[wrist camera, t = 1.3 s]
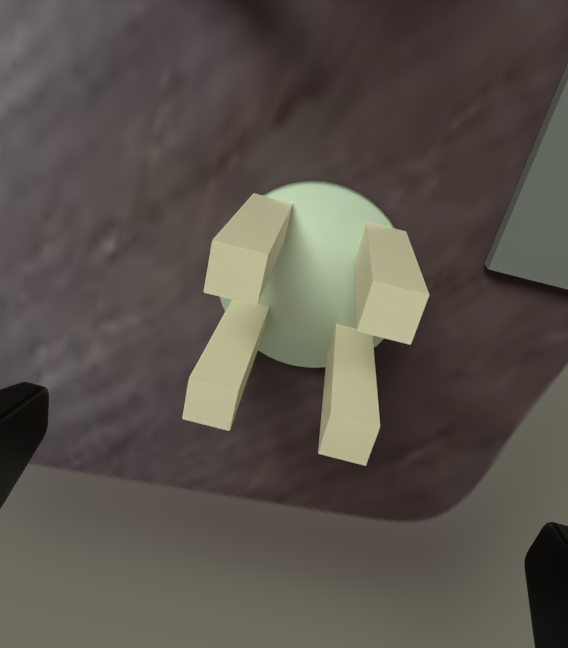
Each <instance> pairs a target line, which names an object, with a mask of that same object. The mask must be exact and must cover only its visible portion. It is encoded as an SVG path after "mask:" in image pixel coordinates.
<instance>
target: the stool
mask: <svg viewBox="0 0 568 648" xmlns="http://www.w3.org/2000/svg"><path fill="white" fill-rule="evenodd" d="M204 293H208V294H212V295H216V296H219V297H220V299H221V302H222V306H223V308H224V310H225V313H224V315H223V317H222V319H221V321H220V323H219V324H218V326H217V328H216V330H215V332H214V333H213V335H212V337H211V339H210V341H209V343H208V344H207V346H206V348H205V350H204V352H203V354H202V355H201V357H200V359H199V361H198V363H197V364H196V366H195V368H194V370H193V372H192V374H191V375H190V377H189V381H188V387H187V393H186V399H185V405H184V411H183V417H182V419H185V420H189V421H192V422H196V423H200V424H204V425H208V426H212V427H216V428H220V429H224V430H228V431H230V429H231V426H232V423H233V420H234V417H235V414H236V411H237V408H238V406H239V403H240V400H241V397H242V394H243V391H244V388H245V385H246V383H247V380H248V377H249V374H250V371H251V368H252V365H253V363H254V360H255V357H256V354H257V351H260V352H262V353H263V354H265V355H267V356H268V357H271V358H273V359H275V360H277V361H280V362H283V363H286V364H289V365H295V366H300V367H311V368H317V367H326V369H325V381H324V392H323V403H322V414H321V426H320V437H319V448H318V454H321V455H325V456H329V457H333V458H337V459H341V460H345V461H349V462H353V463H357V464H361V465H364V466H366V464H367V461H368V458H369V456H370V453H371V450H372V448H373V445H374V442H375V440H376V437H377V434H378V432H379V429H380V418H379V406H378V394H377V382H376V371H375V359H374V347H376V346H377V345H378V344H379V343H380V342H381V341H382V340H383V339H384V338H385V339H389V340H393V341H397V342H401V343H405V344H409V345H411V343H412V340H413V337H414V335H415V332H416V329H417V327H418V324H419V321H420V319H421V316H422V313H423V311H424V308H425V305H426V303H427V300H428V297H429V293H428V290H427V287H426V284H425V282H424V279H423V276H422V274H421V271H420V268H419V265H418V263H417V260H416V257H415V255H414V252H413V249H412V246H411V244H410V241H409V238H408V236H407V233H406V231H402V230H398V229H395V227H394V225H393V224H392V222H391V221H390V219H389V218H388V216H387V215H386V214H385V213H384V212H383V211H382V210H381V208H380V207H378V206H377V205H376V204H375V203H374V202H373V201H372V200H370V199H369V198H367V197H366V196H364V195H363V194H361V193H359V192H357V191H355V190H353V189H351V188H349V187H346V186H343V185H340V184H337V183H331V182H325V181H302V182H295V183H291V184H287V185H284V186H281V187H278V188H276V189H274V190H272V191H270V192H268V193H266V194H264V195H263V196H262V195H259V194H255V193H253V195H252V196H251V197H250V198H249V199H248V200H247V201H246V202H245V204H244V205H243V206H242V207H241V208H240V209H239V210H238V212H237V213H236V214H235V215H234V216H233V217H232V218H231V220H230V221H229V222H228V223H227V224H226V225H225V226H224V227H223V229H222V230H221V231H220V232H219V233H218V234H217V235H216V237H215V238H214V239H213V240H212V245H211V251H210V257H209V263H208V269H207V275H206V281H205V287H204Z"/></svg>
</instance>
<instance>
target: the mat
mask: <svg viewBox="0 0 568 648" xmlns="http://www.w3.org/2000/svg"><path fill="white" fill-rule="evenodd" d="M485 266H486V267H487V268H488V269H489V270H493V271H497V272H501V273H505V274H509V275H513V276H516V277H520V278H524V279H528V280H532V281H536V282H540V283H544V284H548V285H552V286H556V287H560V288H564V289H568V63H567V66H566V68H565V70H564V73H563V75H562V78H561V80H560V83H559V85H558V87H557V90H556V92H555V95H554V97H553V99H552V102H551V104H550V107H549V109H548V112H547V114H546V116H545V119H544V121H543V124H542V126H541V128H540V131H539V133H538V136H537V138H536V141H535V143H534V145H533V148H532V150H531V153H530V155H529V157H528V160H527V162H526V165H525V167H524V170H523V172H522V174H521V177H520V179H519V182H518V184H517V186H516V189H515V191H514V194H513V196H512V198H511V201H510V203H509V206H508V208H507V211H506V213H505V215H504V218H503V220H502V223H501V225H500V227H499V230H498V232H497V235H496V237H495V240H494V242H493V244H492V247H491V249H490V252H489V254H488V256H487V259H486V261H485Z"/></svg>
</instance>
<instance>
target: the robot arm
mask: <svg viewBox="0 0 568 648" xmlns="http://www.w3.org/2000/svg"><path fill="white" fill-rule="evenodd" d="M48 406H49V392H48V390H47V389H46V388H45V387H44V386H40V385H36V384H32V383H29V382H22V383H18V384H16V385H13V386H10V387H7V388H4V389H1V390H0V508H1V507H2V505H3V504H4V502H5V501H6V499H7V497H8V496H9V494H10V492H11V491H12V489H13V487H14V486H15V484H16V482H17V481H18V479H19V478H20V476H21V474H22V473H23V471H24V469H25V468H26V466H27V464H28V463H29V461H30V459H31V458H32V456H33V454H34V453H35V451H36V449H37V448H38V446H39V444H40V443H41V441H42V439H43V438H44V435H45V433H46V430H47V426H48ZM525 573H526V582H527V590H528V598H529V605H530V613H531V620H532V628H533V636H534V643H535V648H568V526H565V525H561V524H558V523H554V522H549V523H547V524H545V525H544V527H543V528H542V529H541V531H540V533H539V534H538V536H537V538H536V539H535V541H534V542H533V544H532V545H531V547H530V549H529V550H528V552H527V554H526V557H525Z"/></svg>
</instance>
